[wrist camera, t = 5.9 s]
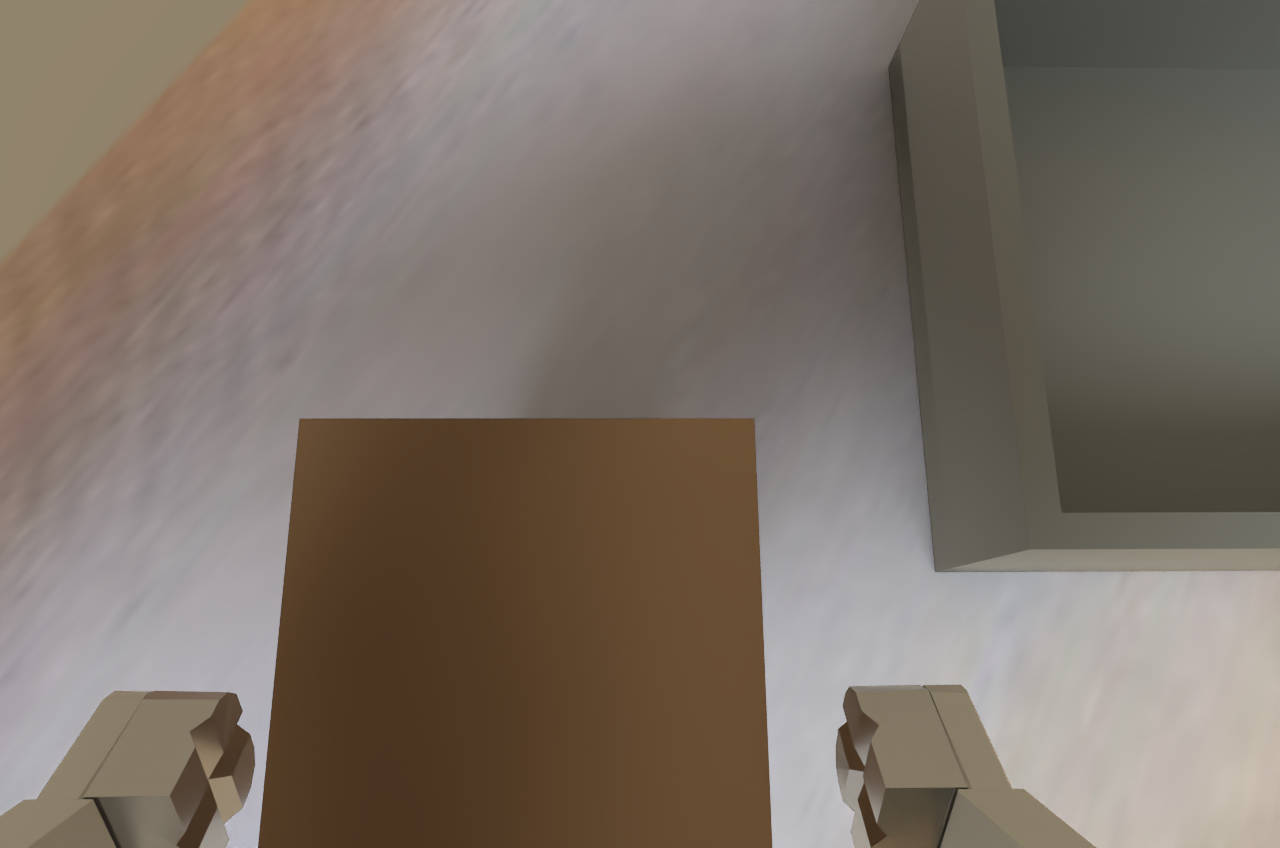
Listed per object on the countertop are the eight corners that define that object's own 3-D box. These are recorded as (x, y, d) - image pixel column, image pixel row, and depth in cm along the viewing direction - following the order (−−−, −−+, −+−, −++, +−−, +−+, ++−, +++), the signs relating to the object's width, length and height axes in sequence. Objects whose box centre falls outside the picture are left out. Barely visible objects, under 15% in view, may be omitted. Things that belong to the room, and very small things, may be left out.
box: (1376, 72, 25) (1557, -65, 20) (1504, 568, 21) (1762, 546, 17) (888, 67, 25) (954, -74, 20) (935, 572, 21) (1029, 549, 16)
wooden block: (678, 544, 21) (754, 418, 10) (683, 761, 20) (774, 920, 8) (475, 545, 21) (299, 418, 9) (466, 763, 20) (249, 927, 8)
